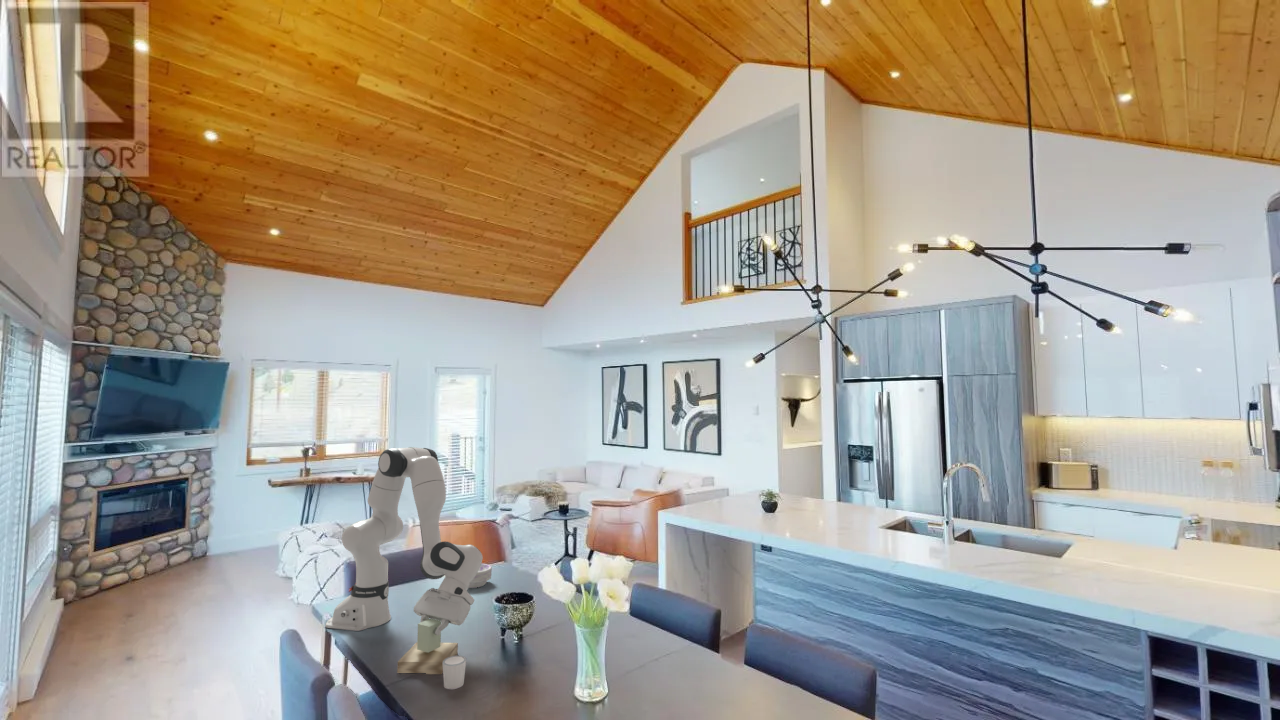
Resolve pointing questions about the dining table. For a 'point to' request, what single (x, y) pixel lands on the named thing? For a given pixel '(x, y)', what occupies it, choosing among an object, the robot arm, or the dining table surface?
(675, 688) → the dining table surface
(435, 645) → the sage block
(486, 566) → the light grey bowl
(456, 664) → the shot glass
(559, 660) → the dining table surface
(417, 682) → the dining table surface
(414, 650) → the block
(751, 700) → the dining table surface
